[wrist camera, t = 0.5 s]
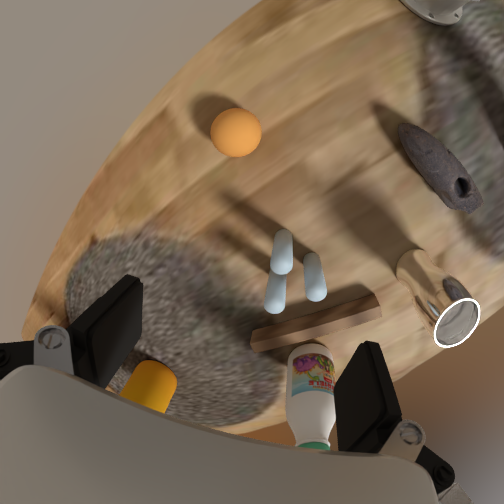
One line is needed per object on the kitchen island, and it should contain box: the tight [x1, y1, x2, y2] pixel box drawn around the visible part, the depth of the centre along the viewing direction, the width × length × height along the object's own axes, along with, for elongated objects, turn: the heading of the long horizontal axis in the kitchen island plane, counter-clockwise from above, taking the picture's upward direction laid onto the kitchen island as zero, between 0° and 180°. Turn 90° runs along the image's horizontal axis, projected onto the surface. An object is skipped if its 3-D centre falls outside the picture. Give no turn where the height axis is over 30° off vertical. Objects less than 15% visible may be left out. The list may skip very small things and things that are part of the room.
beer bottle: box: [119, 360, 177, 413], centre depth 39 cm, size 9×9×29 cm
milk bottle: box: [286, 343, 336, 450], centre depth 36 cm, size 8×8×20 cm
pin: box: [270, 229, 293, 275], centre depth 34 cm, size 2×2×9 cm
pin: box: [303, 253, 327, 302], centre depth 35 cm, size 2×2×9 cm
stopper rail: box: [250, 294, 382, 353], centre depth 41 cm, size 20×2×4 cm, turn 113°
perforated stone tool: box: [398, 123, 484, 214], centre depth 29 cm, size 15×5×7 cm, turn 51°
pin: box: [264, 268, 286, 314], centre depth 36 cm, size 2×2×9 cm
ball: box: [210, 108, 262, 157], centre depth 31 cm, size 6×6×6 cm
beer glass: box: [396, 249, 480, 348], centre depth 30 cm, size 7×7×15 cm
